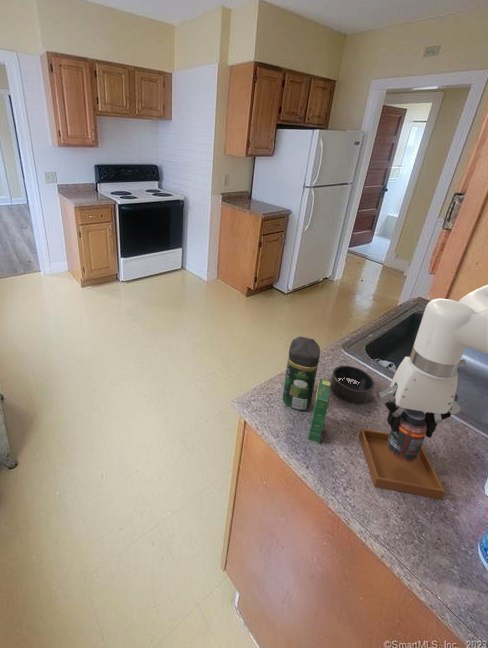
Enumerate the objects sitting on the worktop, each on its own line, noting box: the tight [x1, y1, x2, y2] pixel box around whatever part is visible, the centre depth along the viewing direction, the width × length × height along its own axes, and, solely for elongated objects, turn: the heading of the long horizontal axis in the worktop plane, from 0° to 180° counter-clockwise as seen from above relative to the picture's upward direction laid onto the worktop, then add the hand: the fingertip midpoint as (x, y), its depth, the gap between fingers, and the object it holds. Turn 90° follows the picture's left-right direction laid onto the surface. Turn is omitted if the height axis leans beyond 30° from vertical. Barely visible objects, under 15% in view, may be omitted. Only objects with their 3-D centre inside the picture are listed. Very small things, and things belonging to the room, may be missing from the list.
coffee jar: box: [282, 336, 321, 411], centre depth 88 cm, size 10×8×19 cm
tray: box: [358, 428, 446, 501], centre depth 73 cm, size 13×13×2 cm
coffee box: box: [307, 378, 331, 444], centre depth 79 cm, size 8×3×13 cm, turn 155°
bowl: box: [330, 365, 375, 406], centre depth 94 cm, size 11×11×4 cm
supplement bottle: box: [387, 409, 427, 462], centre depth 69 cm, size 6×6×11 cm
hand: (408, 428), depth 69 cm, fingers closed on supplement bottle, 6 cm apart
